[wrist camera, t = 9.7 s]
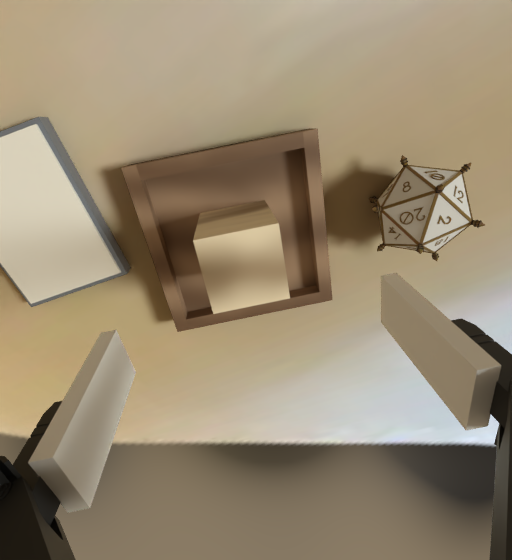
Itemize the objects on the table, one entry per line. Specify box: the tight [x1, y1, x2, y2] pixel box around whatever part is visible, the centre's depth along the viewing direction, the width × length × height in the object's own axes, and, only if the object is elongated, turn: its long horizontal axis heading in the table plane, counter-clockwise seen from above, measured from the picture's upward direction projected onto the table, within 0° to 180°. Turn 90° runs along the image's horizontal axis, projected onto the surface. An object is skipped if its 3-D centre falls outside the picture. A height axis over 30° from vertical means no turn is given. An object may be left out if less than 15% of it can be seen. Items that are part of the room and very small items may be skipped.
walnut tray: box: [121, 129, 332, 332], centre depth 30 cm, size 16×16×2 cm
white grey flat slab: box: [0, 117, 131, 307], centre depth 28 cm, size 14×10×2 cm
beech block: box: [193, 200, 290, 314], centre depth 27 cm, size 6×6×8 cm
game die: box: [369, 155, 485, 261], centre depth 28 cm, size 9×8×10 cm
